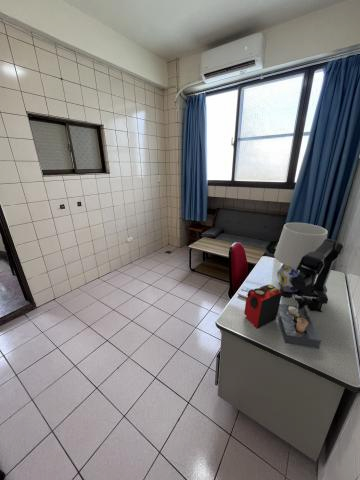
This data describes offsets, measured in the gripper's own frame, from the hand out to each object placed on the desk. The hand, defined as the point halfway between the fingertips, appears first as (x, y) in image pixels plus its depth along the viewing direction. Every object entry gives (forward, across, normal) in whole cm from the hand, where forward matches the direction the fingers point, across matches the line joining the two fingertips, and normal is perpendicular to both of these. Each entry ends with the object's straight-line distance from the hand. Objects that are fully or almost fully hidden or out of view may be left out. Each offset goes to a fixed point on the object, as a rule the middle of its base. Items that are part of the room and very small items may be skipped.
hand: (298, 308), depth 97 cm
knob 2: (+8, -1, +5) cm, 10 cm away
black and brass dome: (+7, -1, -1) cm, 7 cm away
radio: (+12, +16, -3) cm, 20 cm away
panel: (+12, -1, -1) cm, 12 cm away
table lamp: (+12, -9, -41) cm, 43 cm away
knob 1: (+12, 0, -7) cm, 13 cm away
